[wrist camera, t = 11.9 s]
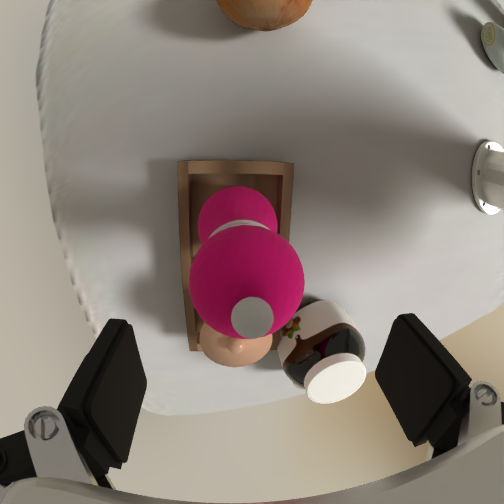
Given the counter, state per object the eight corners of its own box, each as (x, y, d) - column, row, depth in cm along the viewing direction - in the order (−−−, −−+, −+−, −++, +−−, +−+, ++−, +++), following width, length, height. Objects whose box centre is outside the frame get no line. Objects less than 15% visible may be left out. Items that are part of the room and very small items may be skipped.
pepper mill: (194, 237, 30) (153, 372, 11) (212, 173, 27) (181, 217, 9) (257, 254, 31) (301, 396, 12) (278, 192, 29) (370, 269, 10)
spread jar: (324, 283, 35) (361, 338, 24) (361, 330, 38) (396, 382, 27) (253, 338, 36) (264, 403, 26) (299, 375, 40) (318, 433, 29)
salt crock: (264, 274, 32) (277, 318, 23) (261, 323, 34) (271, 374, 26) (202, 274, 31) (195, 319, 23) (205, 324, 34) (201, 376, 25)
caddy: (285, 162, 29) (293, 163, 25) (273, 332, 36) (278, 349, 33) (183, 160, 28) (178, 161, 24) (192, 333, 35) (189, 351, 32)
